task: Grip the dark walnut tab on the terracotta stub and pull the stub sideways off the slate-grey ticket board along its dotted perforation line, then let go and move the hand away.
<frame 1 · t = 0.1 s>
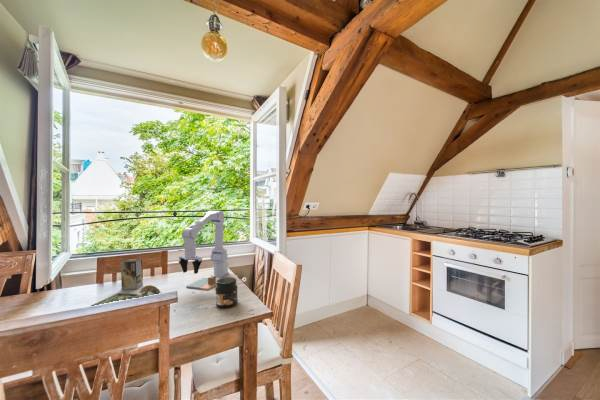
hand: (190, 272, 142), 10 cm above the table, tool pointing down, fingers open, 7 cm apart
olive sloped mound: (129, 304, 127), on the table
supplement container: (226, 304, 123), on the table
ticket board: (201, 284, 152), on the table
coffee box: (132, 287, 148), on the table
stub: (211, 281, 149), point 3 cm above the table, slide at 0.0 cm
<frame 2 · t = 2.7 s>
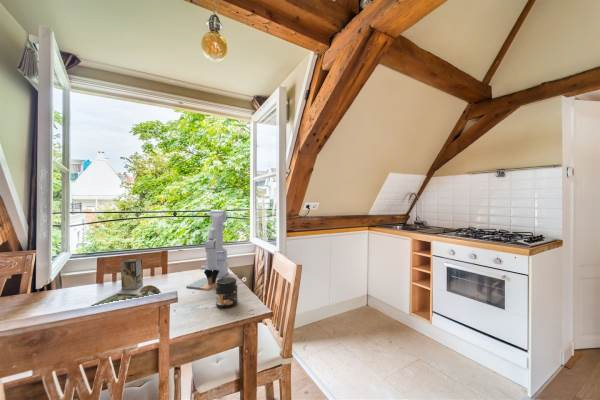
hand: (212, 282, 149), 2 cm above the table, tool pointing down, fingers closed on stub, 2 cm apart
stub: (211, 281, 149), point 3 cm above the table, slide at 0.0 cm, touching gripper
everything else where it was.
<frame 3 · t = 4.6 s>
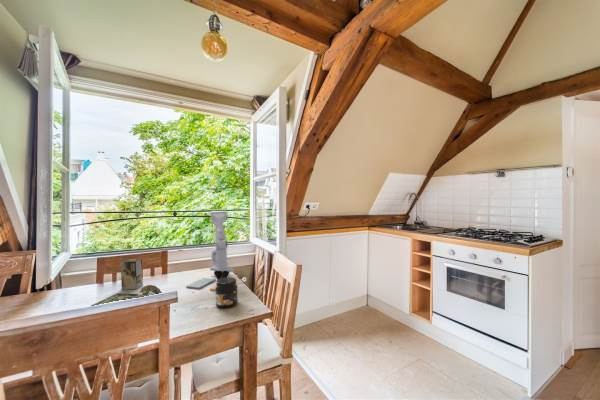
hand: (222, 283, 147), 2 cm above the table, tool pointing down, fingers closed on stub, 2 cm apart
stub: (222, 282, 147), point 3 cm above the table, slide at 7.0 cm, touching gripper
everything else where it was.
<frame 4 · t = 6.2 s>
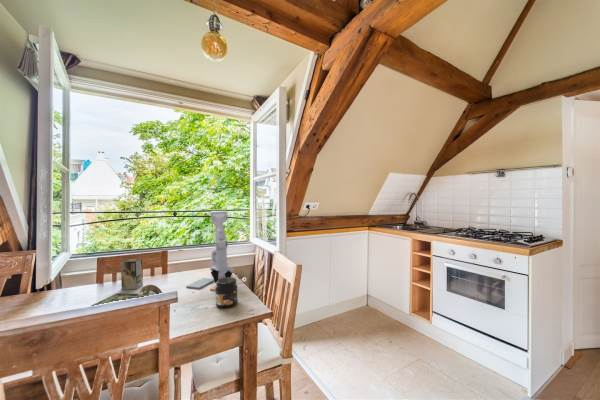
hand: (222, 283, 147), 2 cm above the table, tool pointing down, fingers open, 7 cm apart
stub: (222, 282, 147), point 3 cm above the table, slide at 7.0 cm
everything else where it was.
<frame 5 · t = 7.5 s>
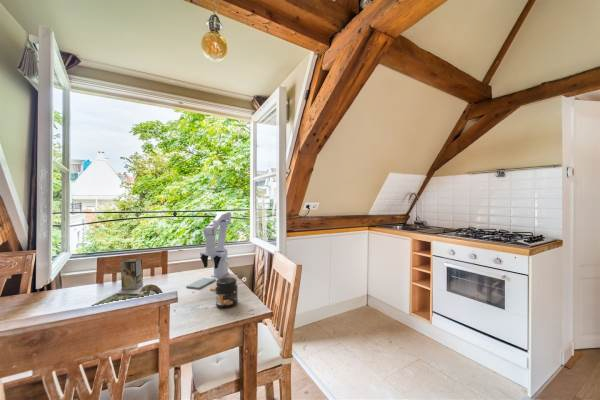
hand: (211, 267, 154), 9 cm above the table, tool pointing down, fingers open, 7 cm apart
nothing on the table moved.
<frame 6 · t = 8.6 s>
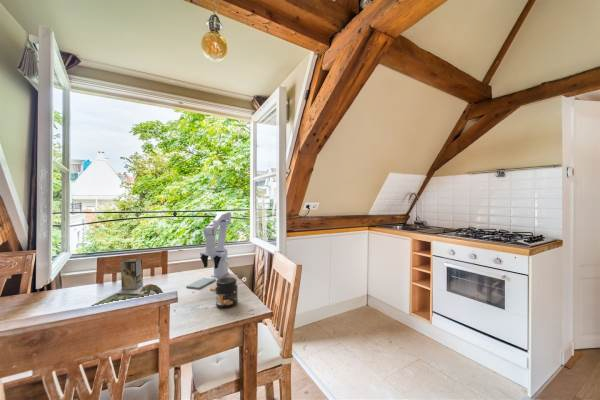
hand: (211, 267, 154), 9 cm above the table, tool pointing down, fingers open, 7 cm apart
at the end: stub slide at 7.0 cm; the gripper is holding nothing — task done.
